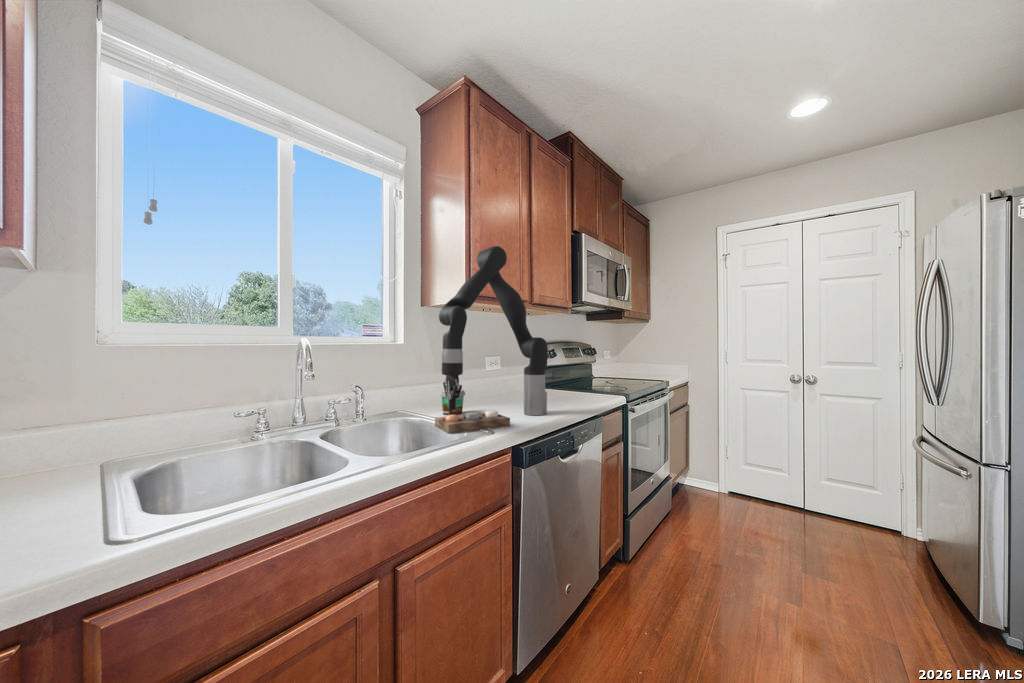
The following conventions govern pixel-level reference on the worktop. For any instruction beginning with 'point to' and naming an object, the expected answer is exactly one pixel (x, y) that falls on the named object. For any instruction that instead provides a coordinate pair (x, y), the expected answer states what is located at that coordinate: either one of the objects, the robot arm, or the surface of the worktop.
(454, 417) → the terracotta button
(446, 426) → the button panel
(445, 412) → the food container
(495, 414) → the cream button
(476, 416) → the slate button
